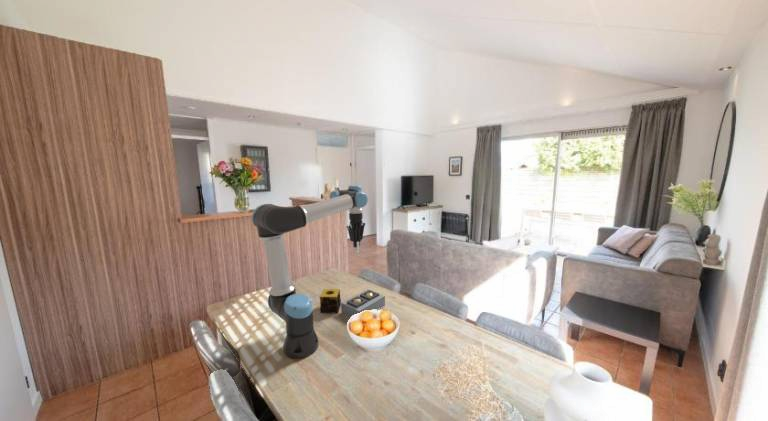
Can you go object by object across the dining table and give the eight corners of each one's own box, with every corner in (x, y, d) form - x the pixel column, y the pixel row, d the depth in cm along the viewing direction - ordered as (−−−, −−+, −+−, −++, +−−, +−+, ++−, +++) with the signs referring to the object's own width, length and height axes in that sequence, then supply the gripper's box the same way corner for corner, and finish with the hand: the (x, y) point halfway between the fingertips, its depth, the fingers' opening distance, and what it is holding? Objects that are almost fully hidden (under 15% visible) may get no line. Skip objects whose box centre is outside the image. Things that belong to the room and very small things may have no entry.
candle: (338, 313, 152) (337, 296, 150) (319, 313, 152) (319, 297, 150) (341, 304, 162) (340, 288, 160) (324, 304, 162) (323, 288, 160)
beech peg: (357, 315, 149) (357, 303, 148) (352, 312, 152) (351, 300, 151) (362, 312, 152) (362, 300, 151) (357, 309, 155) (357, 298, 154)
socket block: (359, 321, 144) (359, 309, 142) (341, 312, 153) (341, 300, 151) (385, 305, 160) (384, 294, 158) (367, 298, 168) (367, 287, 167)
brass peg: (369, 307, 157) (369, 296, 156) (364, 305, 160) (364, 294, 158) (374, 305, 160) (374, 293, 159) (369, 303, 163) (369, 291, 161)
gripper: (351, 214, 149) (352, 256, 152) (368, 211, 158) (369, 250, 162) (342, 213, 153) (344, 253, 157) (359, 210, 163) (360, 248, 167)
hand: (356, 252), depth 160 cm, fingers closed
